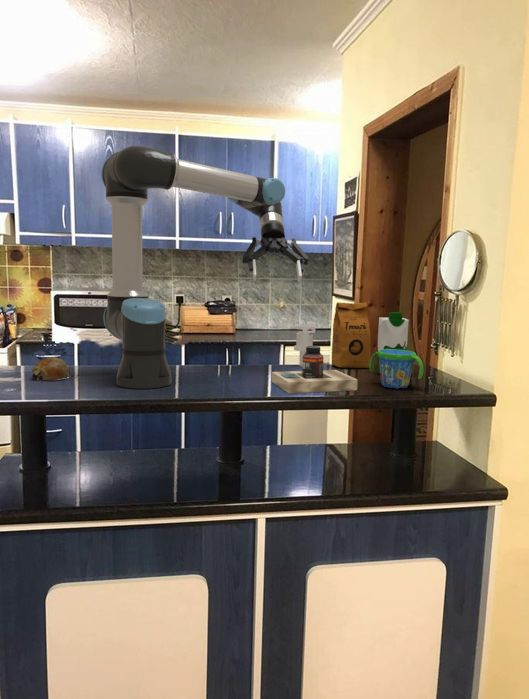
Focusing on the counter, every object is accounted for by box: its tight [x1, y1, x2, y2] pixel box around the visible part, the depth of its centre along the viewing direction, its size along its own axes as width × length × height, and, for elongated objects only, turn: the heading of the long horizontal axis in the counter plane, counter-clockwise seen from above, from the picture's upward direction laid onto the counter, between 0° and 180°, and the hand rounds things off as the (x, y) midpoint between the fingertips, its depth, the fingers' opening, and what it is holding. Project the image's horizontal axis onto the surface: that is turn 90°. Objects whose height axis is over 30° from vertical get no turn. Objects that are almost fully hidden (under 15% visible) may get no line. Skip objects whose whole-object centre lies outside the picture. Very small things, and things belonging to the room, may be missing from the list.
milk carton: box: [376, 311, 410, 375], centre depth 181 cm, size 9×9×20 cm
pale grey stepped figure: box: [293, 321, 317, 367], centre depth 194 cm, size 7×7×15 cm
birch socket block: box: [271, 369, 358, 394], centre depth 162 cm, size 20×15×3 cm
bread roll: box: [31, 356, 70, 381], centre depth 165 cm, size 10×10×8 cm
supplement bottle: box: [301, 345, 324, 379], centre depth 161 cm, size 6×6×11 cm
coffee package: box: [331, 302, 372, 369], centre depth 193 cm, size 10×12×22 cm
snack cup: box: [368, 349, 424, 390], centre depth 163 cm, size 16×10×10 cm
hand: (277, 278), depth 171 cm, fingers open, 13 cm apart
